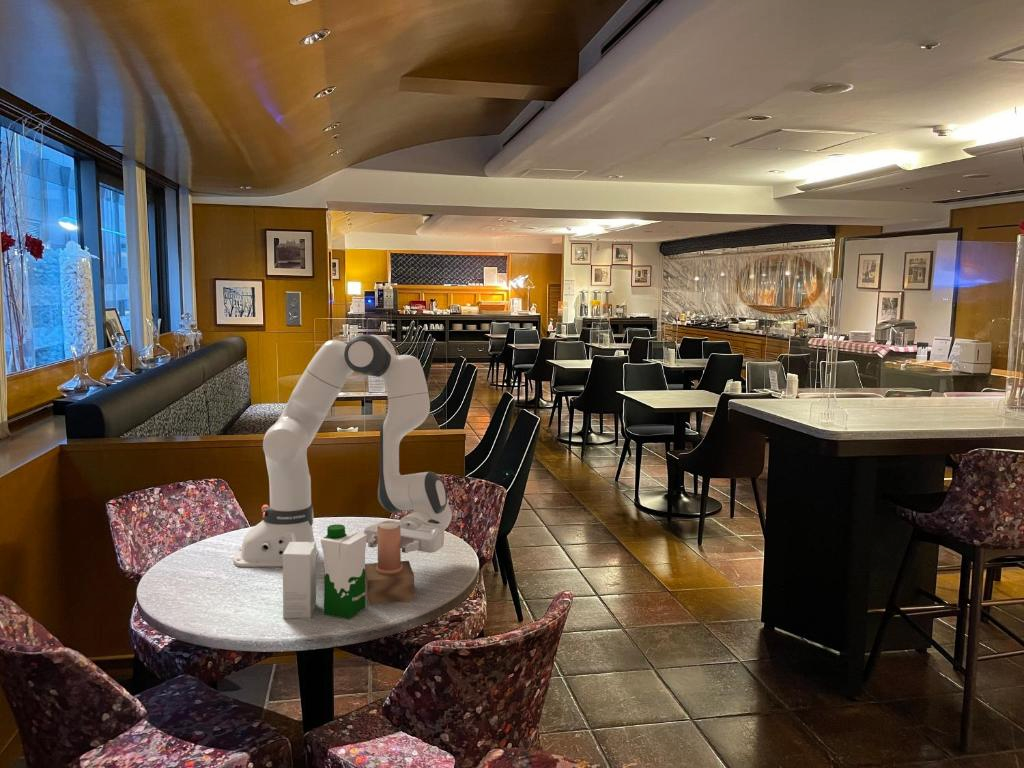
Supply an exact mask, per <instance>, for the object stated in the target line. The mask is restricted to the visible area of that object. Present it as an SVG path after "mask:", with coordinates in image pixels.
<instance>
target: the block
mask: <svg viewBox="0 0 1024 768" xmlns="http://www.w3.org/2000/svg"><path fill="white" fill-rule="evenodd" d="M377 564H378V562H373V563H370V562H369V563H365V588H366V589H365V595H366V599H367V604H368V605H376V604H377V603H379V604H389V603H388V602H390V603H400V602H410V601H415V574H414V572H413V569H412V566H411V563H410V561H409V560H401V564H402V565H403V571H402V572H400V573H398V574H394V575H381V574H378V573H377V572H376V565H377Z"/></svg>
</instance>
